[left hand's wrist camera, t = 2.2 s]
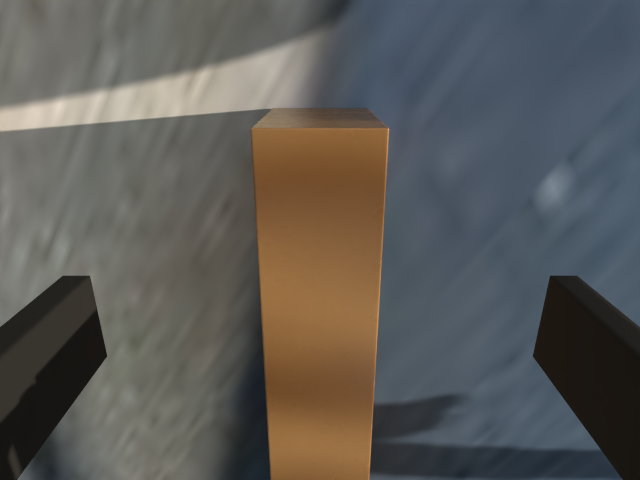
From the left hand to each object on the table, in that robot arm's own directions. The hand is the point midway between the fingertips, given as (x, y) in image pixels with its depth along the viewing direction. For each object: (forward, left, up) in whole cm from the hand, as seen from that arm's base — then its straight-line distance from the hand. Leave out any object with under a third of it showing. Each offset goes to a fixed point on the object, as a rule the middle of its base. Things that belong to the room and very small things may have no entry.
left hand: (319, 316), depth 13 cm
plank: (+19, +14, -12) cm, 26 cm away
